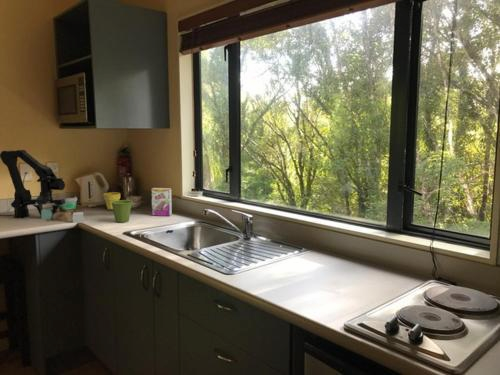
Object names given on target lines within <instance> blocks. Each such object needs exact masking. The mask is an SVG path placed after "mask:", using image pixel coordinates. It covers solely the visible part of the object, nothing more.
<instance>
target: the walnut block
mask: <svg viewBox="0 0 500 375" xmlns="http://www.w3.org/2000/svg"><path fill="white" fill-rule="evenodd" d="M52 219H53V222H67V221H69V220H71V219H72V215H71V212H60V211H58V212H56V213H55V214H53V218H52ZM66 220H67V221H66Z"/></svg>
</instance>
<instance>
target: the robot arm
mask: <svg viewBox="0 0 500 375" xmlns="http://www.w3.org/2000/svg"><path fill="white" fill-rule="evenodd" d="M0 159H1V162H2V164H4V165H5V166H6V168H7V170H8V174H9V176H10V179H11V181H12V185H13V187H14V194H13V197H14V200H13V201H12V202H11V203H10V205H11V208H13V210H14V216H13V218H22V219H23V218H27V217H30V212H29V210H30V209H29V206H31V205H32V206H33V207H35V208H36V210H37V211H38V213H39V215H40V216H41V210H44V208H43V205H46V204H52V205H51V207H52V209H53V214H55V213H57V211H58V209H59V205H62V204H64V203H65V198H56V199H54V197H53V193H54V191H64V190H65V188H66V183H65V181H64V180H63V178H62V177H57V175H56V174H55V173H54V171H53V169H52V168H51V167H50V166H47V165H45V164H43V163H41V162H39V161H38V160H37V159H36V158H35V157H33V156H32V155H31V154H30V153H28V152H27V151H26V150H25V149H18V150H12V149H10V150H2V151H0ZM19 159H21V160H22V162H24V163H26V164H27V165H28V166H30V167H31V168H32V169H33V170H34V172H35V174H36V175H37V176H38V179H37V180H36V182H37V183H38V182H39V184H40V192H39V195H38V196H37V197H36V198H32V197H33V196H32V193H31V190H30V189H26V188H25V185H24V182H23V180H22V177H21V174H20V170H19V166H18V161H19Z"/></svg>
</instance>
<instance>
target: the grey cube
mask: <svg viewBox="0 0 500 375" xmlns="http://www.w3.org/2000/svg"><path fill="white" fill-rule="evenodd" d="M83 220H85V219H84V212H83V211H82V212H81V211H80V212H79V211H78V212H77V211H76V212H75V213H73V214H72V223H73V224H81V222H83V223H84V221H83Z"/></svg>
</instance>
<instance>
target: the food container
mask: <svg viewBox="0 0 500 375" xmlns="http://www.w3.org/2000/svg"><path fill="white" fill-rule="evenodd" d="M64 199H65V203H64V204H62V205H59V207H58V209H59V210H58V212H71V214H72V215H73V213H75V212H77V201H78V197H77V196H76V195H75V196H74V197H66V198H64Z"/></svg>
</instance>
